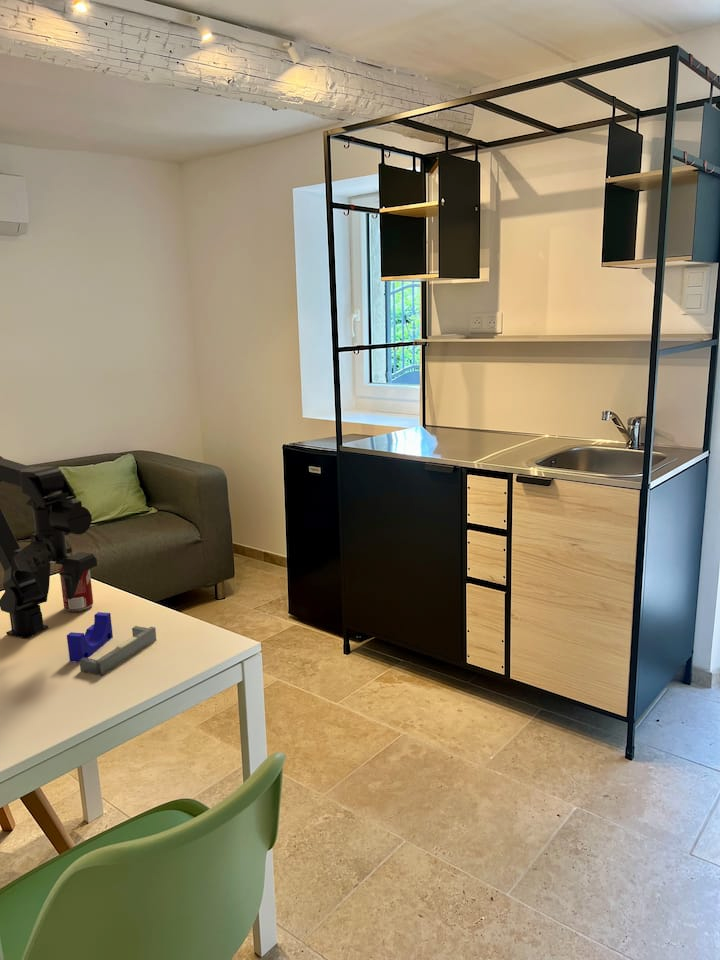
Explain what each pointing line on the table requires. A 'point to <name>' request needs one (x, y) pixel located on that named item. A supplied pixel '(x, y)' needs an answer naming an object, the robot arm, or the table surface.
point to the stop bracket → (120, 652)
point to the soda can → (78, 593)
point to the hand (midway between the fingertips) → (58, 596)
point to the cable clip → (90, 638)
